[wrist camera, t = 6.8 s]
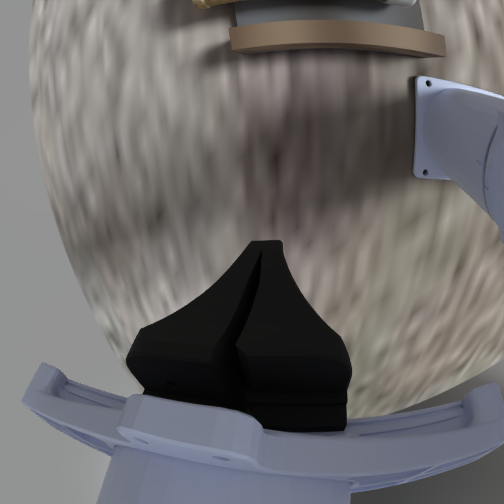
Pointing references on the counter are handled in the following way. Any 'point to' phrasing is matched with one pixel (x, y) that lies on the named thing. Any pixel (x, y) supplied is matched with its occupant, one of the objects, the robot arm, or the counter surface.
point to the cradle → (332, 27)
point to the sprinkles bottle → (209, 0)
